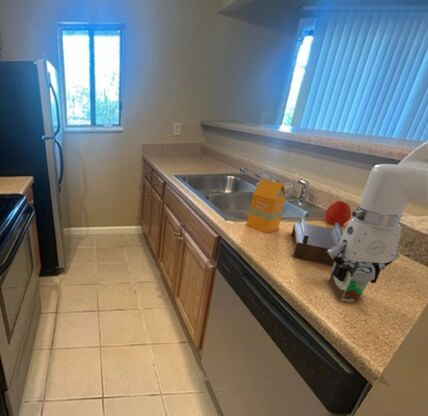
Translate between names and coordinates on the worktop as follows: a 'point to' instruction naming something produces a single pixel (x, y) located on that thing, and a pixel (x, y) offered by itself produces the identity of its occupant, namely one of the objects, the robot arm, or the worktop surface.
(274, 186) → the orange juice
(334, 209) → the apple
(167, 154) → the worktop surface
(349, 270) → the food container
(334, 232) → the dark wooden tray
